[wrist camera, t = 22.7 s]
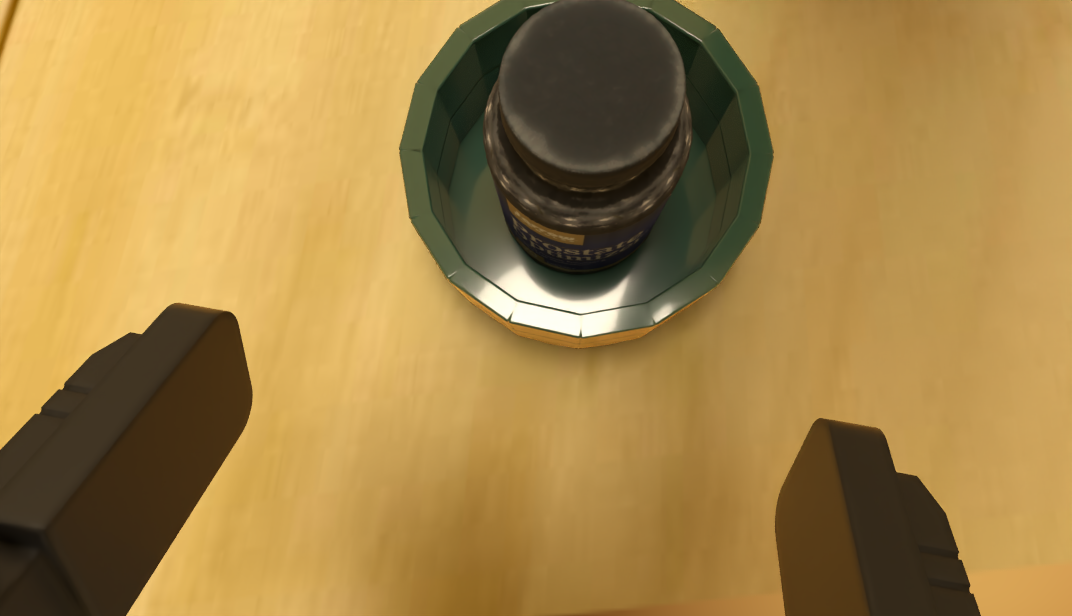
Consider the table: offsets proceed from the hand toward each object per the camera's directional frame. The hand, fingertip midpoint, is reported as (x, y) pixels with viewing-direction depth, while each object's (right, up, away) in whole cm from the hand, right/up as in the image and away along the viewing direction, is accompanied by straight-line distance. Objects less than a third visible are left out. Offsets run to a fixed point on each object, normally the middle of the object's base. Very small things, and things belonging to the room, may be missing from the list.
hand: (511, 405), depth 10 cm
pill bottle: (+2, +6, +19) cm, 20 cm away
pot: (+2, +6, +19) cm, 20 cm away
